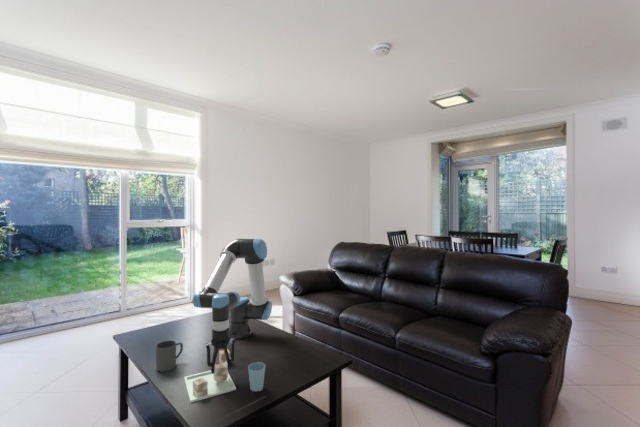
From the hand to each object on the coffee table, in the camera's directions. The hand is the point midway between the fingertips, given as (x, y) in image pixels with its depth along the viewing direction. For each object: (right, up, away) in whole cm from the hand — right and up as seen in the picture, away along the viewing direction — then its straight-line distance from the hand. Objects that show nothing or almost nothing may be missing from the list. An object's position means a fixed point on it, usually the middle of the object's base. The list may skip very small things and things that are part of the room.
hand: (220, 377), depth 146 cm
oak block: (-4, -2, +19) cm, 20 cm away
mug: (-31, -2, +16) cm, 35 cm away
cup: (+18, -3, -5) cm, 19 cm away
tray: (-5, -2, -2) cm, 5 cm away
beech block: (0, 0, 0) cm, 0 cm away
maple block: (-6, -2, -10) cm, 12 cm away
